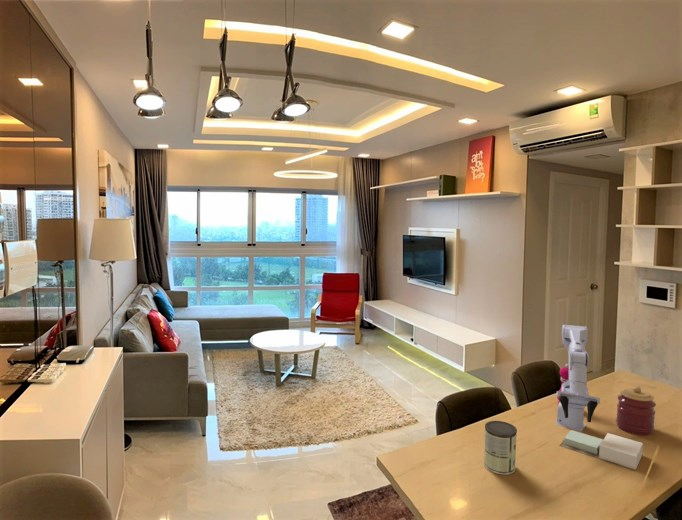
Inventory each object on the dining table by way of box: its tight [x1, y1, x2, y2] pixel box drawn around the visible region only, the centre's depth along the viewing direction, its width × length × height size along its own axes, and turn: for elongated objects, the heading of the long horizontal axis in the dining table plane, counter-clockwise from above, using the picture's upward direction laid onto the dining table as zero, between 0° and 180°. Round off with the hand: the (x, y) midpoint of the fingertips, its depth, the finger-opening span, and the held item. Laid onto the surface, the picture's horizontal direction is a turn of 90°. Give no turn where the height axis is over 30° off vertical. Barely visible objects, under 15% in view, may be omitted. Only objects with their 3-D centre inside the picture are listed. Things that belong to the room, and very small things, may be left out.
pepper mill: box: [556, 363, 569, 405], centre depth 198 cm, size 7×7×20 cm
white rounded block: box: [599, 432, 644, 471], centre depth 156 cm, size 11×12×5 cm
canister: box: [615, 385, 657, 436], centre depth 177 cm, size 13×13×18 cm
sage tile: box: [563, 429, 604, 454], centre depth 164 cm, size 11×9×2 cm
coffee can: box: [483, 420, 518, 476], centre depth 150 cm, size 10×10×14 cm
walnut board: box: [558, 439, 643, 472], centre depth 160 cm, size 24×14×1 cm, turn 47°
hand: (577, 419), depth 163 cm, fingers open, 7 cm apart
